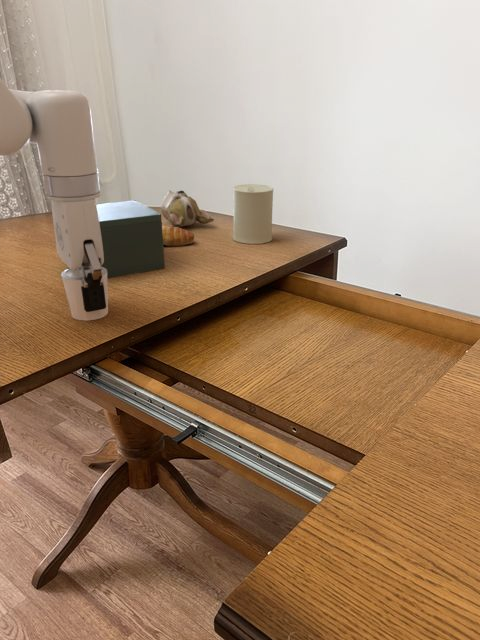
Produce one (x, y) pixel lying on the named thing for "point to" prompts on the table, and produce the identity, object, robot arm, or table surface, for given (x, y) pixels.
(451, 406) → the table surface
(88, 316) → the white cup
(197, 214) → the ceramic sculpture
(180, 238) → the pastry
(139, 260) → the box
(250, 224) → the can
